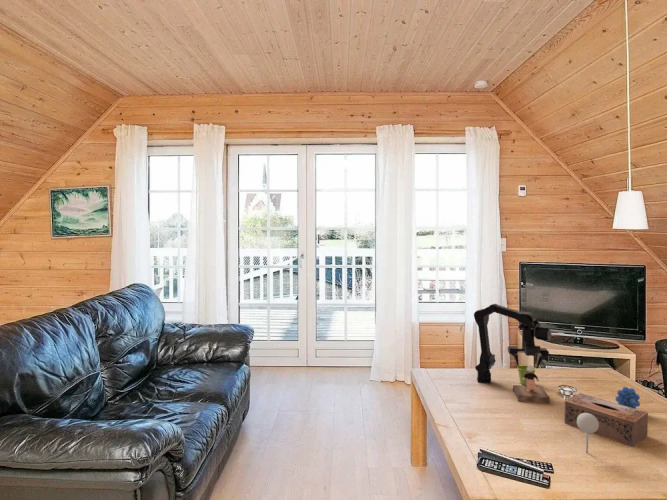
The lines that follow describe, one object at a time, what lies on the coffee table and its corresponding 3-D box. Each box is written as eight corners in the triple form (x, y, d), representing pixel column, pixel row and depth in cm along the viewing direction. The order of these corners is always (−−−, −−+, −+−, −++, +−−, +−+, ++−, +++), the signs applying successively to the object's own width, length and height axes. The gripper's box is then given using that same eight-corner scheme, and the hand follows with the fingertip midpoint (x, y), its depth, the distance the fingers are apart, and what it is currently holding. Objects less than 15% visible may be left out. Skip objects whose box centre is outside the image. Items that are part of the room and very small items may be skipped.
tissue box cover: (647, 436, 173) (647, 412, 173) (633, 447, 164) (634, 422, 164) (579, 414, 194) (580, 393, 193) (564, 423, 185) (565, 401, 185)
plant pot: (512, 382, 234) (513, 366, 234) (525, 379, 238) (525, 364, 238) (527, 387, 226) (527, 371, 225) (539, 385, 230) (539, 369, 229)
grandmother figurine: (535, 389, 216) (535, 364, 215) (539, 392, 212) (539, 366, 211) (520, 389, 216) (520, 364, 215) (524, 392, 212) (524, 367, 211)
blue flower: (623, 417, 190) (623, 390, 189) (611, 411, 197) (612, 385, 196) (647, 415, 191) (647, 389, 191) (634, 409, 198) (635, 384, 197)
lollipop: (578, 446, 166) (578, 408, 165) (599, 451, 161) (600, 412, 160) (574, 453, 160) (575, 414, 159) (596, 459, 156) (597, 419, 155)
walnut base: (518, 401, 209) (518, 395, 208) (512, 390, 222) (512, 384, 222) (549, 403, 206) (549, 397, 205) (541, 392, 219) (541, 386, 219)
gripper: (511, 340, 213) (510, 371, 214) (552, 342, 209) (551, 374, 210) (507, 335, 224) (507, 364, 225) (546, 337, 220) (545, 367, 221)
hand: (527, 367), depth 220 cm, fingers open, 9 cm apart
